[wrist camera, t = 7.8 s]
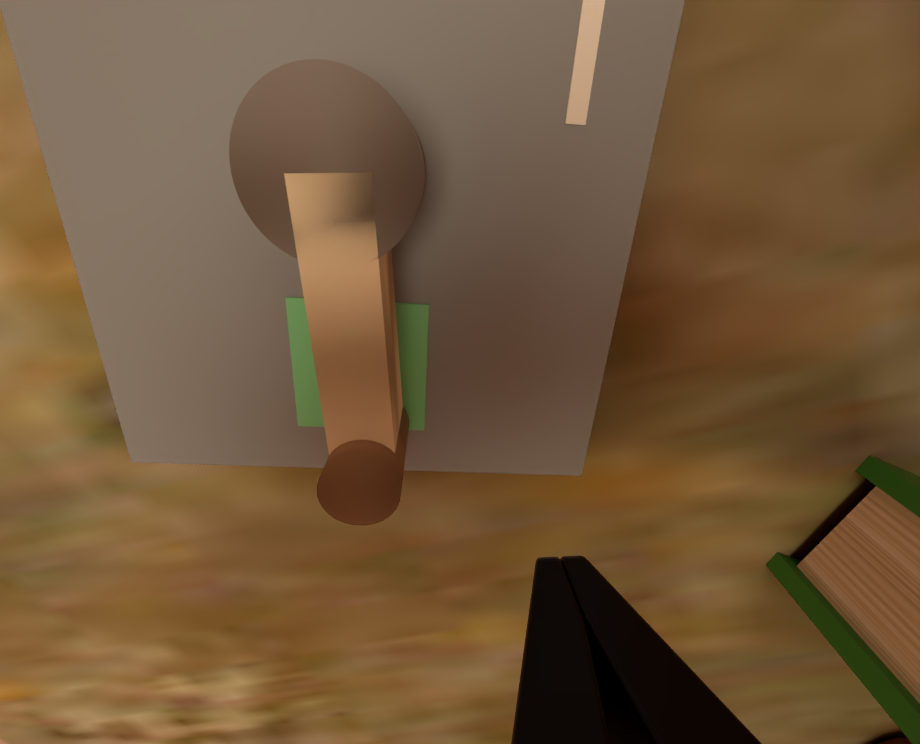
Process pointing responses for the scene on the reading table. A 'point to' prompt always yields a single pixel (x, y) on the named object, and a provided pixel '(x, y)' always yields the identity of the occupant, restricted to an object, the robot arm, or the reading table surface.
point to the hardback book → (870, 590)
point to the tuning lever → (339, 254)
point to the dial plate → (414, 257)
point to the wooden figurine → (896, 741)
